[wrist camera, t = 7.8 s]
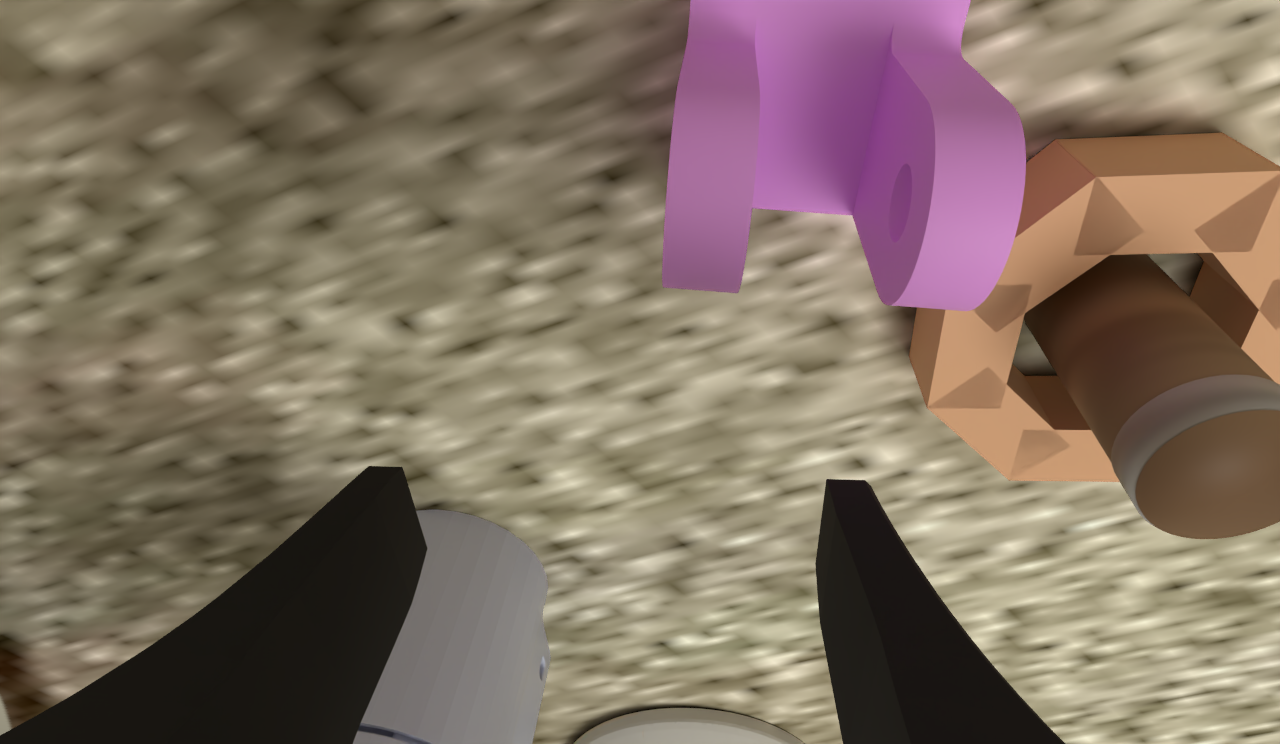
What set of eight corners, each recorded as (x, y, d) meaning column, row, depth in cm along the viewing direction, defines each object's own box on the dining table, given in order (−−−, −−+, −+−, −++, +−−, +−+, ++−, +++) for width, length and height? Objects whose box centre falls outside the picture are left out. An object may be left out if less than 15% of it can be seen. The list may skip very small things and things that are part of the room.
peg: (1135, 346, 20) (1292, 542, 15) (1008, 347, 21) (1113, 538, 15) (1176, 235, 18) (1375, 411, 13) (1035, 239, 19) (1167, 411, 13)
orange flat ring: (1205, 425, 22) (1252, 483, 20) (897, 424, 23) (913, 479, 21) (1344, 127, 17) (1426, 165, 15) (942, 143, 18) (969, 181, 16)
